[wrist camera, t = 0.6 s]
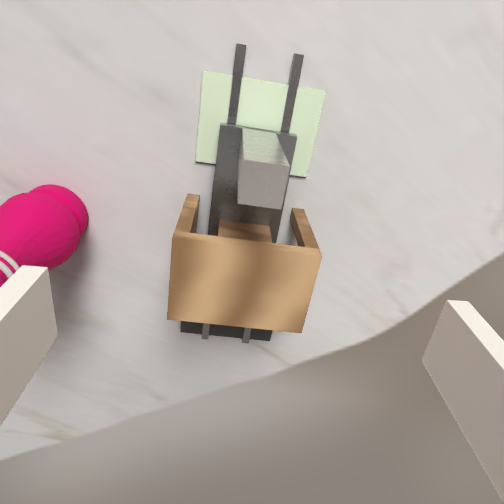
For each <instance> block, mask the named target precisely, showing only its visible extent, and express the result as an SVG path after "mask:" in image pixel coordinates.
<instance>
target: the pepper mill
mask: <svg viewBox="0 0 504 504" xmlns="http://www.w3.org/2000/svg"><path fill="white" fill-rule="evenodd" d="M87 225H88V213H87V210H86V208H85V206H84V204H83V202H82V201H81V199H80V198H79V197H78V196H77V195H76V194H74V193H73V192H72V191H70V190H68V189H66V188H64V187H61V186H58V185H42V186H39V187H37V188H35V189H33V190H32V191H30V192H29V193H22V194H18V195H15V196H13V197H11V198H9V199H8V200H7V201H6V202H5V203H3V204H2V205H1V206H0V287H1V286H2V285H3V284H4V283H5V282H6V281H7V280H8V279H9V278H10V277H11V276H12V275H13V274H14V273H15V272H16V271H17V270H18V269H19V268H20V267H21V266H22V265H26V266H38V267H48V270H49V269H52V268H54V267H56V266H58V265H60V264H62V263H63V262H65V261H66V260H67V259H68V258H69V257H70V256H71V255H72V254H73V253H74V251H75V250H76V248H77V246H78V243H79V238H80V236H81V235H82V234H83V233H84V231H85V230H86V227H87Z"/></svg>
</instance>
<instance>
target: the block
mask: <svg viewBox="0 0 504 504" xmlns="http://www.w3.org/2000/svg"><path fill="white" fill-rule="evenodd" d="M218 236H220V237H228V238H236V239H244V240H252V241H260V242H268V243H272V239H271V233H270V227H269V226H265V225H258V224H250V223H242V222H235V221H227V220H220V221H219V229H218Z"/></svg>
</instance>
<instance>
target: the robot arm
mask: <svg viewBox="0 0 504 504" xmlns="http://www.w3.org/2000/svg"><path fill="white" fill-rule="evenodd" d="M57 337H58V332H57V325H56V318H55V312H54V305H53V298H52V292H51V285H50V279H49V272H48V267H38V266H26V265H22V266H21V267H20V268H19V269H18V270H17V271H16V272H15V273H14V274H13V275H12V276H11V277H10V278H9V279H8V280H7V281H6V282H5V283H4V284H3V285H2V286H1V287H0V426H1V425H2V423H3V422H4V420H5V419H6V417H7V415H8V414H9V412H10V411H11V409H12V408H13V406H14V404H15V403H16V401H17V400H18V398H19V397H20V395H21V393H22V392H23V390H24V389H25V387H26V386H27V384H28V382H29V381H30V379H31V378H32V376H33V375H34V373H35V371H36V370H37V368H38V367H39V365H40V364H41V362H42V360H43V359H44V357H45V356H46V354H47V353H48V351H49V349H50V348H51V346H52V345H53V343H54V342H55V340H56V338H57ZM422 363H423V364H424V366H425V368H426V370H427V372H428V373H429V375H430V377H431V379H432V380H433V382H434V384H435V385H436V387H437V389H438V390H439V392H440V394H441V396H442V398H443V399H444V401H445V403H446V405H447V406H448V408H449V410H450V411H451V413H452V415H453V417H454V418H455V420H456V422H457V423H458V425H459V427H460V429H461V431H462V432H463V434H464V436H465V438H466V439H467V441H468V443H469V444H470V446H471V448H472V450H473V451H474V453H475V455H476V457H477V458H478V460H479V462H480V464H481V465H482V467H483V469H484V471H485V472H486V474H487V476H488V478H489V479H490V481H491V483H492V484H493V486H494V488H495V490H496V491H497V493H498V495H499V497H500V498H501V500H502V502H503V503H504V341H503V340H502V339H501V338H500V337H499V336H498V334H497V333H496V332H495V331H494V330H493V329H492V328H491V327H490V325H489V324H488V323H487V322H486V321H485V320H484V319H483V318H482V317H481V316H480V314H479V313H478V312H477V311H476V310H475V309H474V308H473V306H472V305H471V304H470V303H469V302H467V301H466V302H465V301H453V300H446V303H445V305H444V308H443V310H442V312H441V315H440V317H439V320H438V322H437V324H436V327H435V329H434V332H433V334H432V337H431V339H430V342H429V344H428V346H427V349H426V351H425V354H424V356H423V358H422Z"/></svg>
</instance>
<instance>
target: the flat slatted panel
mask: <svg viewBox="0 0 504 504" xmlns="http://www.w3.org/2000/svg"><path fill="white" fill-rule="evenodd" d="M244 328H245V327H236V326H226V325H216V324H210V328H209V335H215V336H225V337H235V338H243V334H244ZM202 330H203V323H197V322H187V321H181V332H186V333H196V334H202ZM271 334H272V330H265V329H255V328H251V333H250V338H249V339H255V340H265V341H270V338H271Z"/></svg>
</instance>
